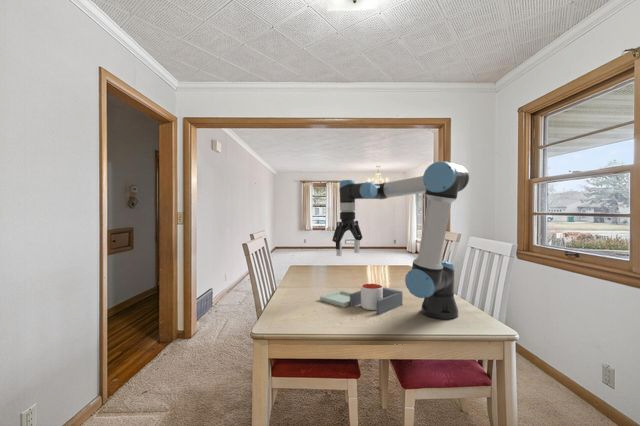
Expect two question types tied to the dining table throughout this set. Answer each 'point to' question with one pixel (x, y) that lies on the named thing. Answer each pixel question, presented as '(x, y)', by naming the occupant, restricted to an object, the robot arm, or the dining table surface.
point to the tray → (337, 298)
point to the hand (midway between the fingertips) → (348, 254)
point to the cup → (371, 295)
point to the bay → (381, 300)
